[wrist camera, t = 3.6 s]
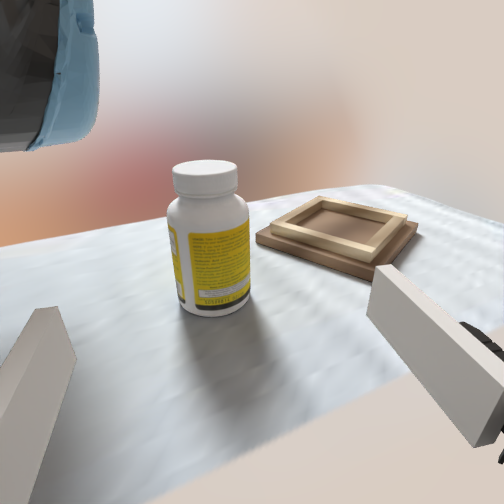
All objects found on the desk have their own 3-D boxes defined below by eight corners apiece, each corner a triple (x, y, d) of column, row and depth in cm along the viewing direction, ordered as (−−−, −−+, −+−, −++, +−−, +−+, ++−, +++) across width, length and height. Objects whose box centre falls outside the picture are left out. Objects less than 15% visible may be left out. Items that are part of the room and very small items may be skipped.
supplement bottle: (264, 290, 26) (265, 163, 21) (220, 330, 22) (209, 184, 17) (210, 270, 28) (200, 153, 24) (163, 302, 24) (139, 170, 20)
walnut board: (255, 242, 33) (255, 223, 32) (314, 207, 41) (315, 192, 40) (375, 283, 26) (379, 261, 25) (416, 231, 34) (420, 214, 33)
